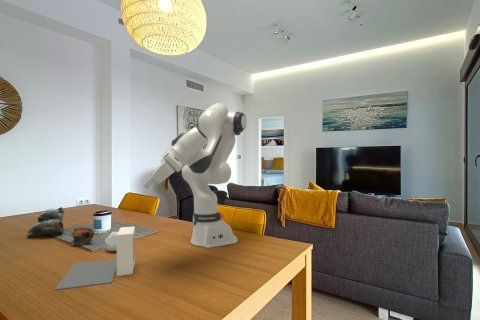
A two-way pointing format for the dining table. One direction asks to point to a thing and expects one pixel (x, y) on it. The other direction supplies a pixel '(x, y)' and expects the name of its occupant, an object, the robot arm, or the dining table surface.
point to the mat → (89, 274)
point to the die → (112, 241)
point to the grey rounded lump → (48, 223)
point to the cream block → (125, 250)
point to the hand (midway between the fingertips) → (145, 187)
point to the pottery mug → (81, 236)
